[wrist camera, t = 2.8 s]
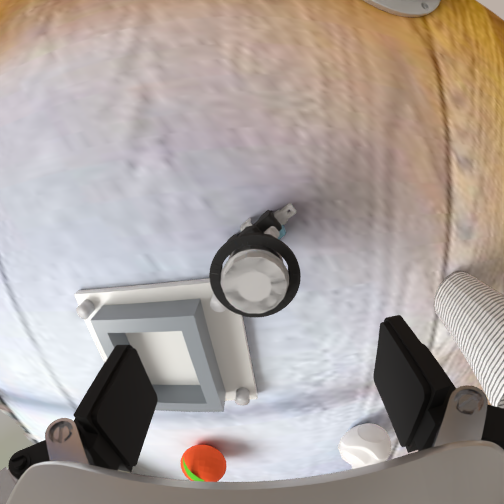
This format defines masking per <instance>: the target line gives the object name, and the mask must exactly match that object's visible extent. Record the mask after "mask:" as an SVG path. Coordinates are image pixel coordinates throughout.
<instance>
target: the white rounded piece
mask: <svg viewBox="0 0 504 504" xmlns="http://www.w3.org/2000/svg"><path fill="white" fill-rule="evenodd" d="M338 449H339V451H340V454H341V456H342V459H343V460H345V461H346V462H347V463H349V464H350V465H352V469H355V468H360V467H364V466H368V465H372V464H376V463H380V462H384V461H386V460H387V459H388V457H389V455H390V451H391V440H390V437H389V435H388V433H387V432H386V430H385V429H384V428H382V427H381V426H379V425H376V424H371V423H366V424H361V425H358V426H355V427H353V428H351V429H350V430H348V431H347V432H346V433H345V434H344V435H343V436H342V438H341V439H340V443H339V445H338Z"/></svg>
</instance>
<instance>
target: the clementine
mask: <svg viewBox="0 0 504 504" xmlns="http://www.w3.org/2000/svg"><path fill="white" fill-rule="evenodd" d="M181 468H182V471H183V473H184V474H185V476H186V477H187V478H188V479H190V480H191V481H204V482H217V481H218V480H220V479H221V478H222V477H223V475H224V474H225V471H226V460H225V458H224V456H223V454H222V453H221V452H220V451H219V450H217V449H216V448H214V447H212V446H209V445H195V446H192V447H191V448H189V449H187V450H186V451H185V453H184V454H183V456H182V458H181Z"/></svg>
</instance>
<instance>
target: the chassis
mask: <svg viewBox="0 0 504 504" xmlns="http://www.w3.org/2000/svg"><path fill="white" fill-rule="evenodd" d="M74 295H75V297H76V300H77V303H78V305H79V306H78V307H77V309H76V311H77V314H78V315H79V317H81V318H82V319H84V320H85V322H86V324H87V326H88V329H89V331H90V333H91V335H92V338H93V340H94V342H95V344H96V346H97V348H98V350H99V352H100V354H101V356H102V358H103V360H104V362H106V360H107V359H108V357H109V355H110V354H111V352H112V351H113V349H114V348H115V346H116V345H131V346H132V347H133V348H135V349H136V350H137V352H138V355H139V357H140V359H141V362H142V364H143V366H144V368H145V371H146V373H147V375H148V377H149V379H150V382H151V384H152V386H153V388H154V390H155V392H156V394H157V399H158V401H157V405H156V408H155V410H161V411H184V412H224V404H225V401H229V400H235V402H236V403H237V404H238V405H247V404H248V403H249V400H250V399H257V394H258V393H257V388H256V383H255V378H254V373H253V367H252V362H251V357H250V352H249V347H248V341H247V336H246V331H245V325H244V320H243V316H242V315H239V314H236V313H234V312H232V311H230V310H229V309H227V308H226V307H225V306H223V305H222V304H221V303H220V302H219V300H218V299H217V298H216V296H215V295H214V293H213V291H212V288H211V284H210V278H206V279H196V280H187V281H177V282H167V283H156V284H146V285H135V286H124V287H113V288H101V289H89V290H79V291H77V292H76V293H75V294H74Z"/></svg>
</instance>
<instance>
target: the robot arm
mask: <svg viewBox="0 0 504 504" xmlns="http://www.w3.org/2000/svg"><path fill="white" fill-rule="evenodd" d="M363 1H365V2H367V3H368V4H370V5H372V6H374V7H376V8H378V9H380V10H383V11H386V12H388V13H391V14H395V15H399V16H403V17H421V16H424V15H427V14H429V13H430V12H432V11H434V10H435V9H436V8H437V7H438V5H439V3H440V1H441V0H363ZM374 382H375V385H376V387H377V389H378V391H379V394H380V396H381V398H382V401H383V403H384V406H385V408H386V410H387V413H388V415H389V418H390V420H391V422H392V425H393V427H394V430H395V432H396V435H397V437H398V440H399V442H400V445H401V446H402V447H405V446H406V449H407V451H408V453H409V452H412V451H415V450H418V452H415V453H411V454H408V455H405V456H402V457H398V458H395V459H391V460H388V461H384V462H380V463H376V464H372V465H368V466H364V467H360V468H355V469H351V470H346V471H341V472H336V473H331V474H325V475H318V476H312V477H304V478H296V479H286V480H275V481H259V482H204V481H188V480H176V479H167V478H159V477H151V476H145V475H139V474H133V473H127V472H131V470H132V467H133V466H135V465H136V464H137V461H138V458H139V455H140V452H141V449H142V446H143V443H144V440H145V437H146V434H147V431H148V428H149V425H150V422H151V419H152V417H153V414H154V411H155V408H156V405H157V401H158V399H157V394H156V392H155V390H154V388H153V386H152V384H151V382H150V379H149V377H148V375H147V373H146V371H145V368H144V366H143V364H142V362H141V359H140V357H139V355H138V352H137V350H136V349H135V348H133V347H132V346H131V345H116V346H115V348H114V349H113V351H112V352H111V354H110V355H109V357H108V359H107V360H106V362H105V363H104V365H103V367H102V368H101V370H100V371H99V373H98V375H97V376H96V378H95V380H94V381H93V383H92V384H91V386H90V388H89V389H88V391H87V393H86V394H85V396H84V398H83V400H82V401H81V403H80V405H79V406H78V408H77V410H76V412H75V413H74V416H75V420H74V421H72V420H71V419H68V418H61V419H57V420H56V421H54V422H52V423H51V424H50V425H49V426H48V428H47V430H46V433H45V439H46V440H44V441H42V442H39V443H37V444H35V445H32V446H30V447H28V448H25V449H23V450H20V451H18V452H16V453H15V454H14V455H13V456H12V457H11V459H10V461H9V469H7V468H6V467H5V468H4V469H2V470H1V471H0V504H504V408H500V407H496V406H491V405H488V402H487V397H486V395H485V394H484V392H483V391H482V390H480V389H479V388H477V387H474V386H461V387H459V388H457V389H456V388H455V386H454V385H453V383H452V382H451V380H450V379H449V377H448V376H447V375H446V373H445V372H444V370H443V369H442V367H441V366H440V365H439V363H438V362H437V360H436V359H435V358H434V356H433V355H432V353H431V352H430V351H429V349H428V348H427V347H426V346H425V345H424V344H422V343H421V342H420V341H419V339H418V338H417V337H416V335H415V334H414V333H413V331H412V330H411V329H410V327H409V326H408V325H407V323H406V322H405V321H404V319H403V318H402V317H401V316H400V315H397V316H392V317H388V318H385V320H384V322H382V323H381V324H380V331H379V340H378V348H377V355H376V362H375V369H374ZM118 470H121V471H126V472H121V471H118Z"/></svg>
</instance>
